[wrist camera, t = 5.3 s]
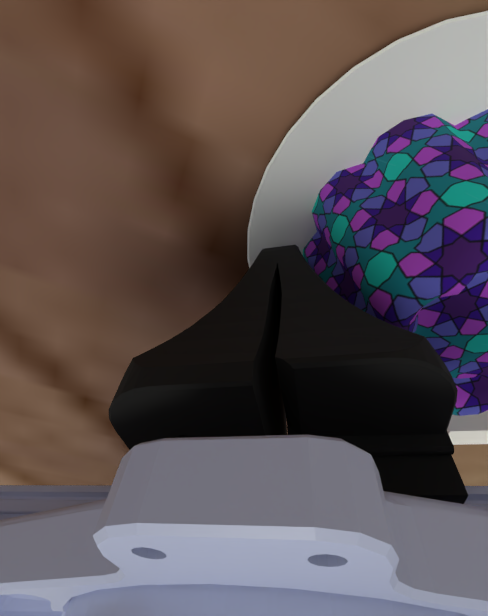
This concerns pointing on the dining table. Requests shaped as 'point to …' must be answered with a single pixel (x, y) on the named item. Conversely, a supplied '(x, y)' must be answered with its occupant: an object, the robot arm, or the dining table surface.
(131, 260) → the dining table surface
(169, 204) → the dining table surface
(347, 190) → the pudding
